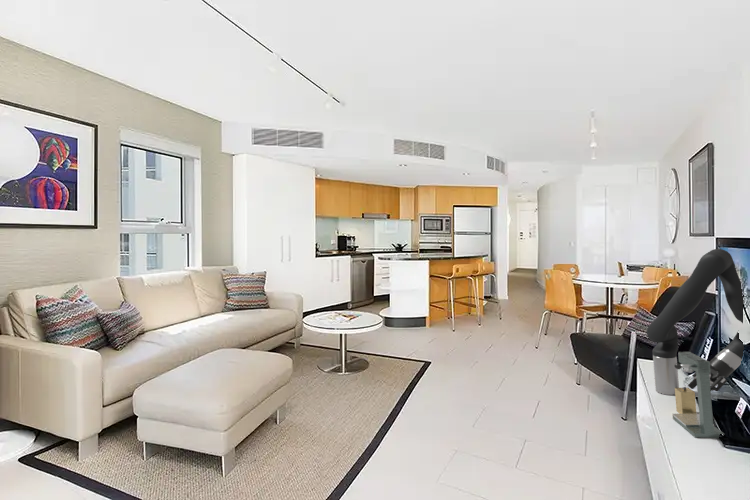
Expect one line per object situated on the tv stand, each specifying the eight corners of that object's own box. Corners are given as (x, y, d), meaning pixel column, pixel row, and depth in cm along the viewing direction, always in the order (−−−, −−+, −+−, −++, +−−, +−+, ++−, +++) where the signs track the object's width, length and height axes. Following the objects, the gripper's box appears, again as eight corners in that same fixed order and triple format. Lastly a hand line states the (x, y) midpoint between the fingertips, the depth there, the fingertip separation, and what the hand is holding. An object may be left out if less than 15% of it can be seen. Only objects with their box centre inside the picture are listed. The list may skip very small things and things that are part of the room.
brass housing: (676, 411, 173) (674, 385, 173) (689, 411, 172) (687, 385, 172) (682, 416, 168) (680, 389, 168) (696, 416, 167) (694, 389, 167)
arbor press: (662, 418, 168) (656, 350, 167) (699, 418, 165) (693, 349, 164) (683, 437, 152) (677, 362, 152) (724, 437, 149) (718, 361, 149)
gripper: (706, 351, 174) (678, 379, 177) (728, 361, 160) (697, 391, 163) (722, 363, 173) (693, 391, 176) (745, 374, 159) (713, 404, 162)
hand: (695, 391), depth 169 cm, fingers open, 8 cm apart
